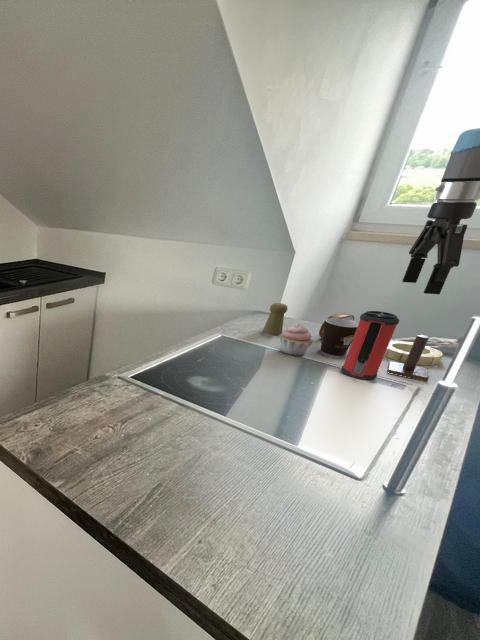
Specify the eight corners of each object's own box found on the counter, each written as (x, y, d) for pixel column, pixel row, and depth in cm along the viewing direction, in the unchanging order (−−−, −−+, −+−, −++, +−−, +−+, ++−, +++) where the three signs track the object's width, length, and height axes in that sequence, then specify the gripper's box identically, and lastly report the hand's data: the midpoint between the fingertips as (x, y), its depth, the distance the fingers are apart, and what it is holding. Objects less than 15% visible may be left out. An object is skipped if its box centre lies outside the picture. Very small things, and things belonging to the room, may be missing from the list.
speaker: (337, 374, 112) (359, 314, 104) (343, 366, 116) (365, 308, 109) (373, 382, 106) (398, 320, 99) (378, 374, 111) (402, 313, 103)
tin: (340, 332, 142) (348, 310, 138) (350, 335, 139) (359, 312, 136) (315, 339, 136) (322, 316, 133) (325, 342, 134) (333, 318, 130)
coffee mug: (320, 355, 124) (330, 325, 120) (312, 345, 131) (321, 317, 127) (366, 360, 120) (378, 329, 116) (355, 349, 127) (366, 320, 123)
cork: (285, 335, 140) (293, 306, 136) (266, 335, 141) (274, 305, 137) (277, 330, 146) (285, 301, 141) (259, 329, 147) (266, 301, 142)
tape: (438, 355, 122) (441, 347, 120) (439, 369, 113) (443, 361, 112) (379, 344, 130) (382, 337, 129) (377, 356, 121) (380, 349, 120)
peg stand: (426, 372, 111) (443, 335, 107) (426, 381, 106) (444, 343, 101) (388, 364, 116) (403, 329, 112) (387, 373, 111) (402, 336, 107)
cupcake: (272, 345, 132) (280, 317, 128) (305, 349, 129) (314, 320, 125) (277, 355, 125) (285, 325, 121) (312, 359, 121) (322, 329, 117)
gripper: (412, 199, 106) (384, 277, 114) (460, 203, 85) (421, 297, 94) (450, 199, 103) (418, 279, 111) (509, 203, 82) (464, 300, 91)
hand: (419, 287), depth 103 cm, fingers open, 13 cm apart
